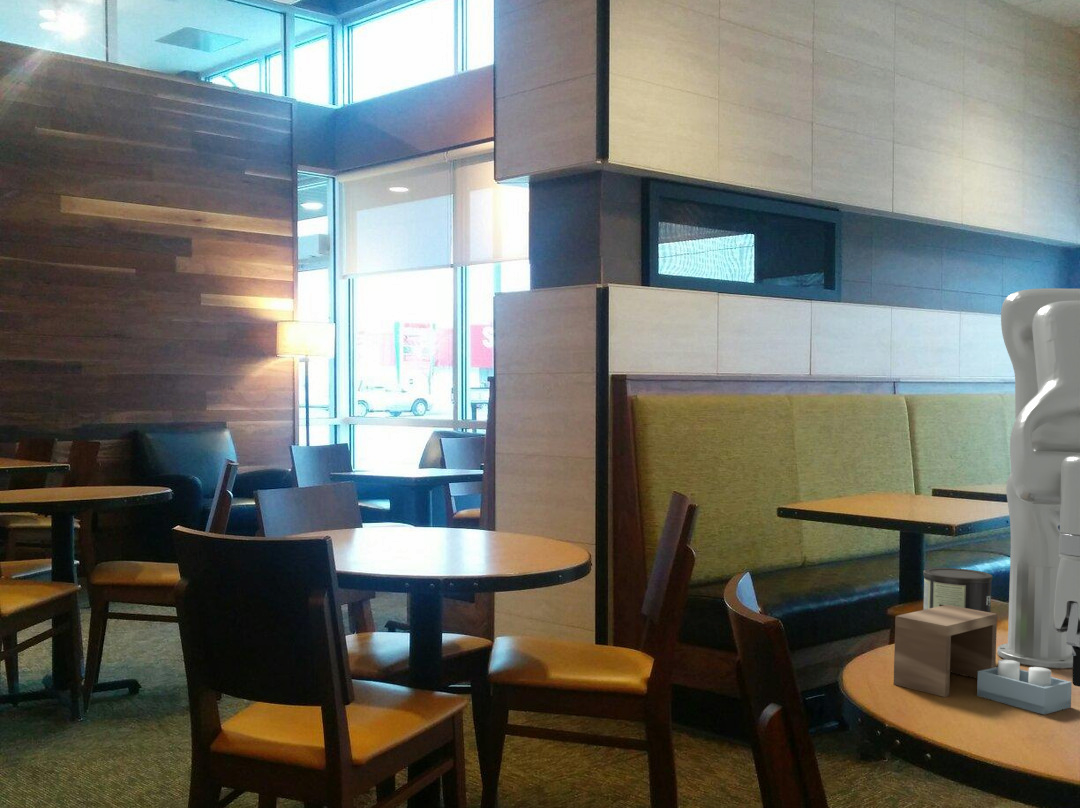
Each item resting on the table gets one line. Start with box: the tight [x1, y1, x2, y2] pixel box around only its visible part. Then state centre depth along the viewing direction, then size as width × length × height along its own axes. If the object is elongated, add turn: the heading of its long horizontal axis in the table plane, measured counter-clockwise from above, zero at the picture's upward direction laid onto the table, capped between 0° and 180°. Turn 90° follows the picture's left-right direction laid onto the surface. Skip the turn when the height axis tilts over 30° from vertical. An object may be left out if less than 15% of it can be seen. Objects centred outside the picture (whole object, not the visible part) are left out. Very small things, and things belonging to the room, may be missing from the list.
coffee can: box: [923, 567, 993, 613], centre depth 172 cm, size 10×10×14 cm
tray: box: [976, 659, 1073, 715], centre depth 149 cm, size 6×10×5 cm, turn 34°
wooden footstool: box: [893, 605, 998, 698], centre depth 158 cm, size 14×8×10 cm, turn 130°
